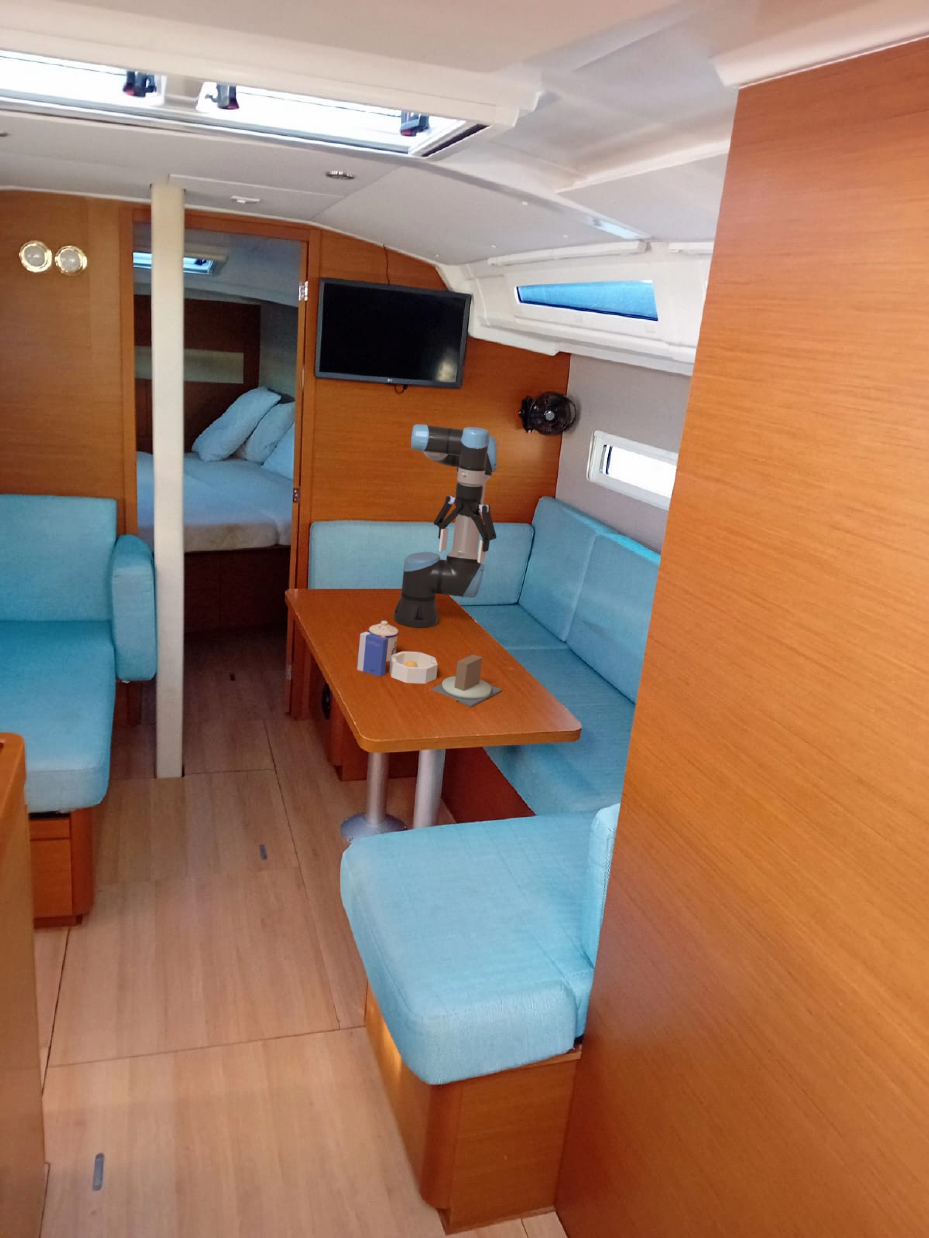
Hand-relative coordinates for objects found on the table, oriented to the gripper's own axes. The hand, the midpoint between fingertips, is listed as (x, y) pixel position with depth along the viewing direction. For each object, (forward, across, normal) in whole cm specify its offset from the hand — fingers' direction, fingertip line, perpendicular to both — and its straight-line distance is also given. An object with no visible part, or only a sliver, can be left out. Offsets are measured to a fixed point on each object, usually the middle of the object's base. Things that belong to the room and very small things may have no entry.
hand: (461, 556), depth 269 cm
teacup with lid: (+35, -19, -9) cm, 41 cm away
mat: (+35, +14, -11) cm, 39 cm away
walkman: (+35, -12, -22) cm, 43 cm away
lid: (+34, +14, -11) cm, 38 cm away
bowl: (+35, -3, -14) cm, 38 cm away
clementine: (+34, -4, -14) cm, 37 cm away
